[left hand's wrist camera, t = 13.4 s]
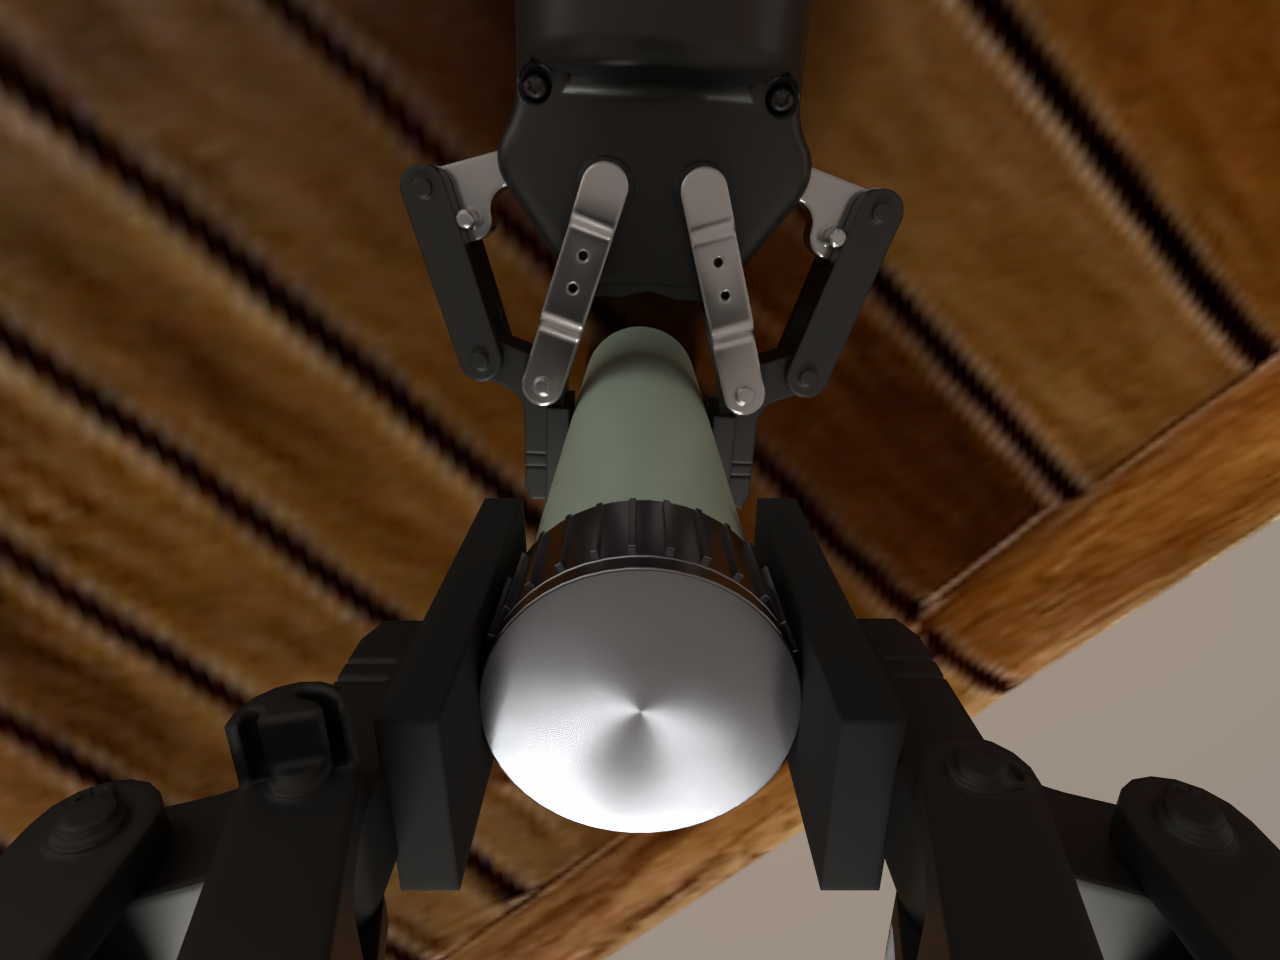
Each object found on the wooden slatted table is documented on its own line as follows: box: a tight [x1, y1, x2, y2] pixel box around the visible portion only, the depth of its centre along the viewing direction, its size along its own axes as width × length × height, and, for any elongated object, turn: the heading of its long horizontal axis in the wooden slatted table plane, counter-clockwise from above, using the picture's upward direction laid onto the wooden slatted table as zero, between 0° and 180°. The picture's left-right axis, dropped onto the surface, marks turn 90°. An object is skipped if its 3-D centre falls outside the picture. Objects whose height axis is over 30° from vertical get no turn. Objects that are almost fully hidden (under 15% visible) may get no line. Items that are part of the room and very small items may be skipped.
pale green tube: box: [534, 327, 746, 543], centre depth 20 cm, size 4×4×20 cm
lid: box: [478, 498, 802, 833], centre depth 12 cm, size 5×5×2 cm
